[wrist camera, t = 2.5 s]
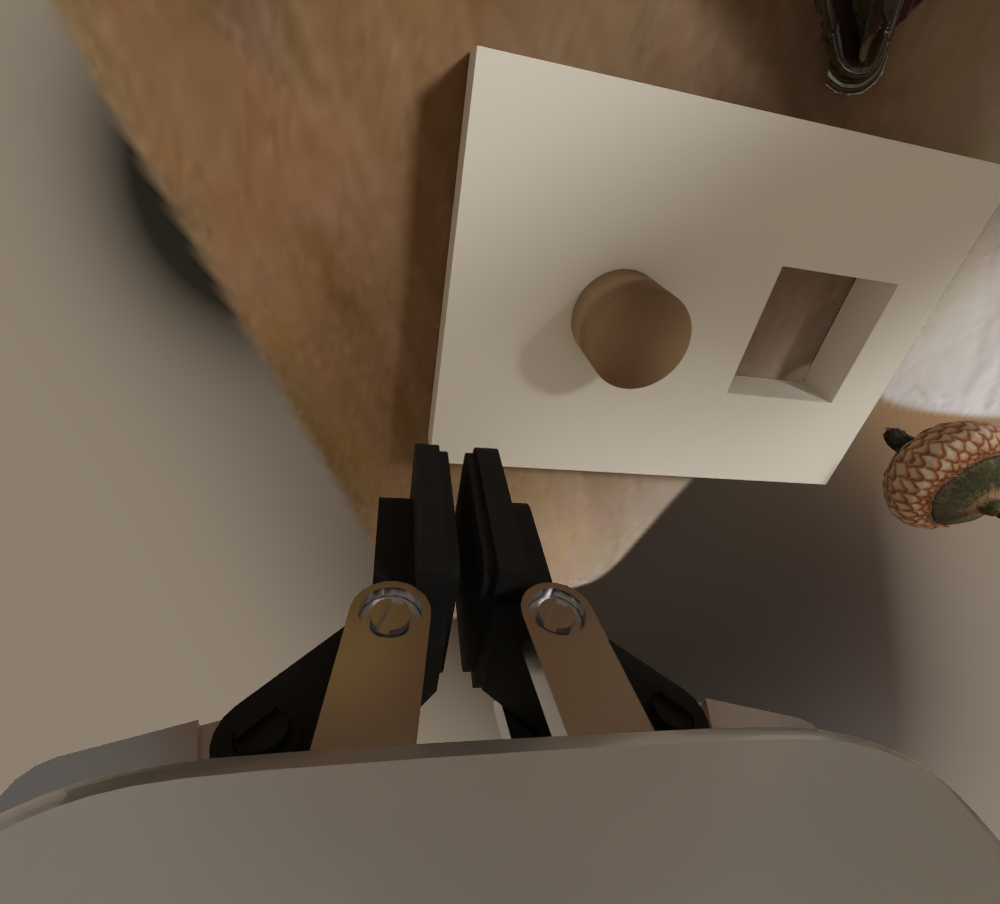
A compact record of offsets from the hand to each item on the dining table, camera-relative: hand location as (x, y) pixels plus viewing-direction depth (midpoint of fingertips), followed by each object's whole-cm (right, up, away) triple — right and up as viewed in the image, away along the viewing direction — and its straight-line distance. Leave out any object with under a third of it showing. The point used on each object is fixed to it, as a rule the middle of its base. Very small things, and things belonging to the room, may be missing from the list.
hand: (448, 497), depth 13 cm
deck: (+12, +10, +19) cm, 24 cm away
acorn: (+30, +3, +27) cm, 41 cm away
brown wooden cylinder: (+7, +8, +15) cm, 19 cm away
